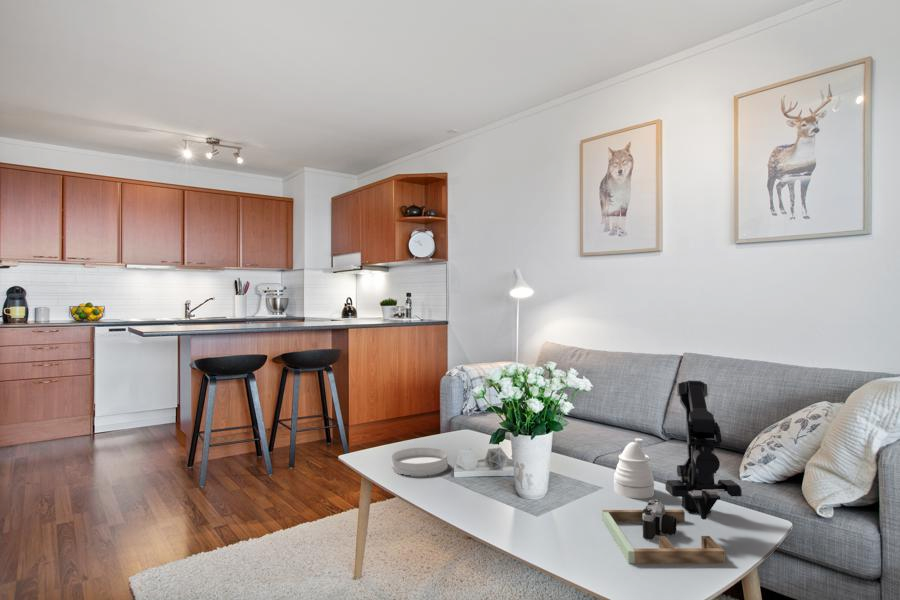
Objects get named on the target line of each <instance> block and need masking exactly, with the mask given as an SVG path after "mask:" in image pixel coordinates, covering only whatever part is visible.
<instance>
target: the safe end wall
mask: <svg viewBox="0 0 900 600" xmlns="http://www.w3.org/2000/svg"><path fill="white" fill-rule="evenodd" d="M603 510H604V509H602V510H601V514H602V515H601V521H602V522H603V524H604V525H605V527H606V529H607V531H608V532H609V534H610V535H611V537H612V538H613V541H614V542H615V544H616V546H617V547H618V549H619V550H620V553H622V556H623V557H624V558H625V560H626V562H627V564H636V563H635V553H634V550H633V549H634V548H633V547H632V546H631V544H630V542H629V541H628V539H627V538H626V536H625V535H624V533H623V532H622V530H621V529H620V528H619V526H618V524H617V522H615V521H614V520H613V518H612V517H611V515H610V514H609V512H604V511H603Z"/></svg>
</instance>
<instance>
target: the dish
mask: <svg viewBox="0 0 900 600" xmlns="http://www.w3.org/2000/svg"><path fill="white" fill-rule="evenodd" d="M448 467H449V465H448V454H447V452H446V451H445V450H442V449H439V448H435V447H434V448H433V447H413V448H406V449H401V450H398V451H396V452H394V453H393V454H391V470H392V469H393V470H394V471H395V472H397V473H400V474H404V475H403V476H405V475H411V476H410V477H427V475H429V476H434V475H438V474H440V473H442V472H445V471H446V470H447V469H448ZM393 470H392V471H393ZM395 472H394V473H395ZM397 473H396V474H397ZM400 474H399V475H400Z"/></svg>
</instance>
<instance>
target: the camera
mask: <svg viewBox="0 0 900 600" xmlns="http://www.w3.org/2000/svg"><path fill="white" fill-rule="evenodd" d="M642 510H643V514H642V520H643V522H642V539H643V540H644V539H645V540H646V541H648V540H649V542H651V541H654V539H655V537H656V536H666V535H669V536H674V535H676V532H677V523H678V522H676V518H674V517H673V516H668V515H667V514H665V510H666V507H665V505H664V504H663V503H662V502H661V501H660V500H659V499H649V500H648V503H647V505H646V506H645V508H643V509H642ZM645 540H644V541H645Z"/></svg>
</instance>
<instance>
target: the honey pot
mask: <svg viewBox="0 0 900 600" xmlns="http://www.w3.org/2000/svg"><path fill="white" fill-rule="evenodd" d="M643 441H644V439H642V438H638V437H637V438H634V441H631V442H629V443H628V444H627V445H626V446H625V447H624V449H623V451H622V453H619V455H618V459H619V461H618V463H617V464H616V468H615V472H614V473H613V491H614V493H616V494H617V495H619V496H621V497H625V498H629V499H640V500H641V499H642V500H643V499H648V498H651V497H653V496H655V482H654V481H655V478H654V476H653V475H654V474H653V473H652V471H651V466H650V465H649V462H650V460H651V459H650V457H649V455H647V454H645V453H644V451H643V449H642V447H641V445H642V444H643Z"/></svg>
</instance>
